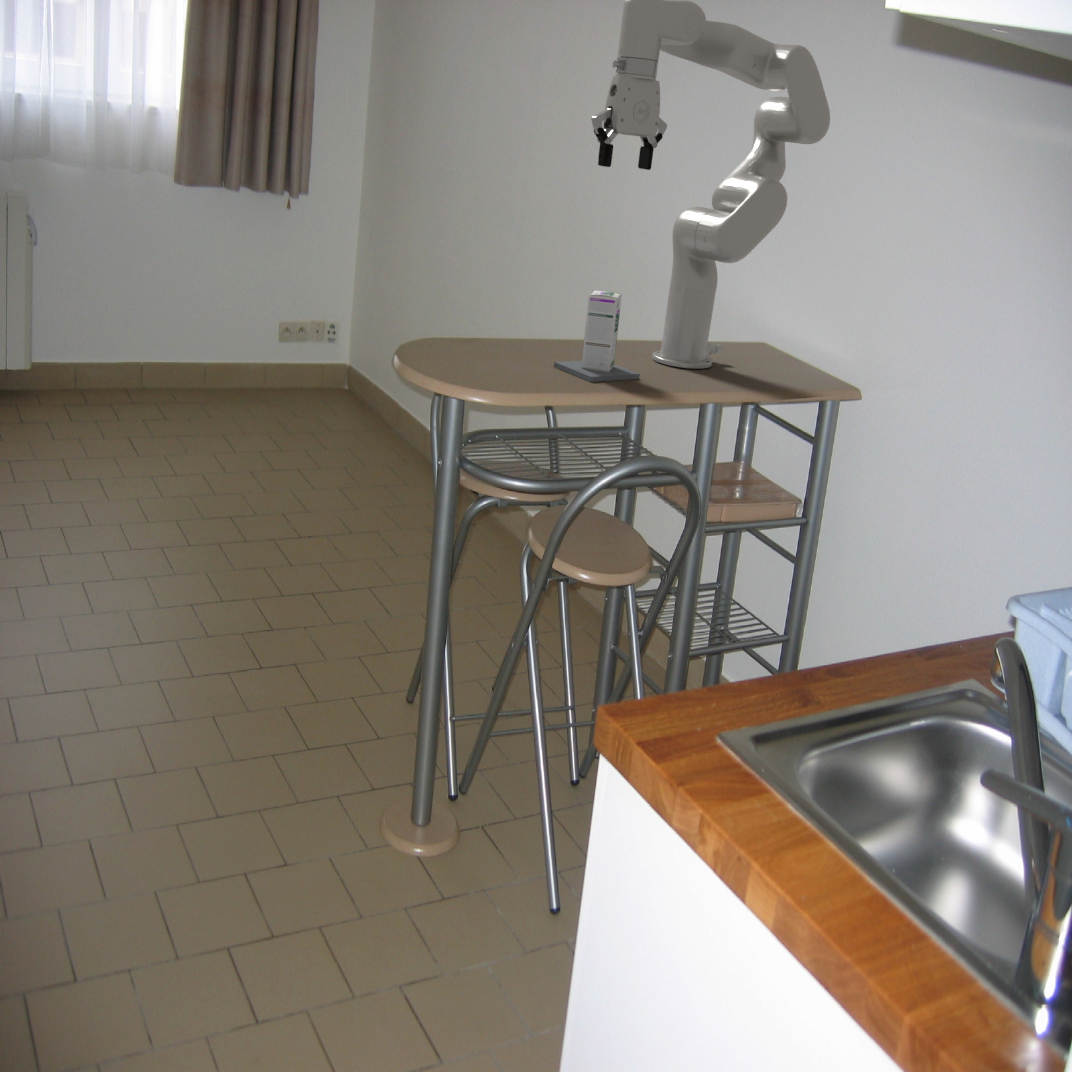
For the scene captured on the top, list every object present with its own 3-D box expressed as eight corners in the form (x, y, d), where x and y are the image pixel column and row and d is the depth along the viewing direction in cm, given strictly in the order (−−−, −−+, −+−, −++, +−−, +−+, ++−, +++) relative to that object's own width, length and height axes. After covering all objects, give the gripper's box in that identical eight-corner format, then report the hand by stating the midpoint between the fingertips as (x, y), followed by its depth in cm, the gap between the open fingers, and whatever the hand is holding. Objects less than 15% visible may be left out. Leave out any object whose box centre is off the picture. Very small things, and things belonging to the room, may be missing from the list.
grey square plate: (601, 364, 230) (602, 359, 230) (639, 378, 221) (639, 373, 221) (553, 366, 223) (554, 361, 223) (590, 382, 214) (590, 376, 214)
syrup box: (609, 372, 219) (619, 297, 214) (579, 368, 220) (588, 293, 215) (613, 366, 224) (623, 293, 219) (584, 362, 225) (593, 289, 220)
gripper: (612, 65, 200) (600, 167, 206) (685, 75, 209) (672, 172, 216) (586, 64, 205) (576, 163, 212) (659, 73, 215) (646, 168, 221)
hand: (624, 167), depth 214 cm, fingers open, 9 cm apart
